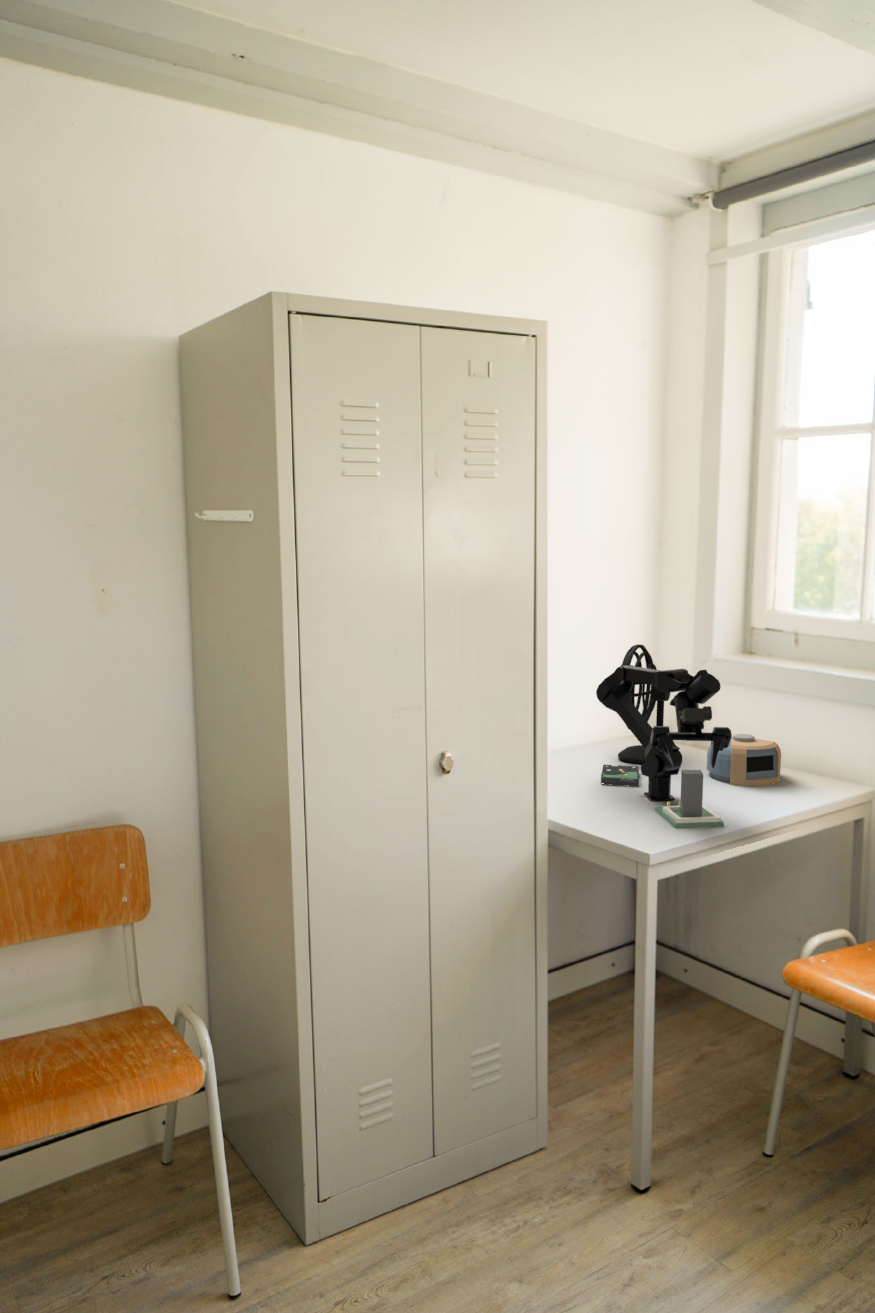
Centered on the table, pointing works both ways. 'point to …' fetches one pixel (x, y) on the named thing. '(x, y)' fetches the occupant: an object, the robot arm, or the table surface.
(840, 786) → the table surface
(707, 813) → the green flat piece
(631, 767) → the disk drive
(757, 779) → the alarm clock
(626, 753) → the desk fan
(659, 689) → the robot arm
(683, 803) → the block
